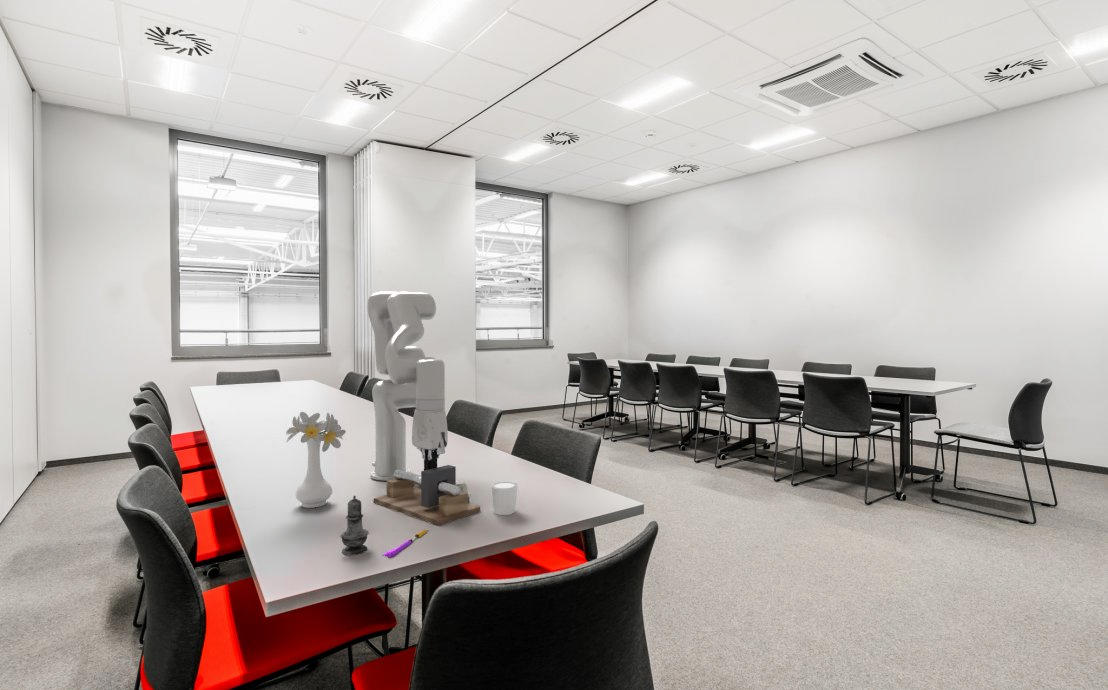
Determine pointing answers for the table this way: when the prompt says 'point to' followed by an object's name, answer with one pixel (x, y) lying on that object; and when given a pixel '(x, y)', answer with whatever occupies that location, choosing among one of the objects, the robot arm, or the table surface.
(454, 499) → the pipe stand
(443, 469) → the collar
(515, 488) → the shot glass
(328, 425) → the flower vase
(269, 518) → the table surface
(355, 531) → the salt shaker
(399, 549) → the purple and yellow tool
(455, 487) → the pipe
